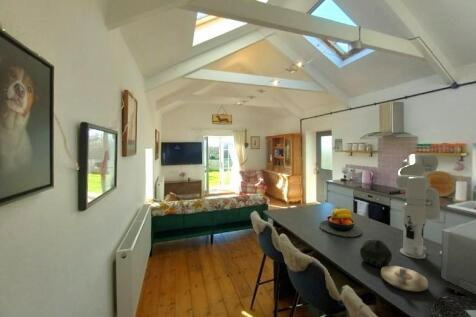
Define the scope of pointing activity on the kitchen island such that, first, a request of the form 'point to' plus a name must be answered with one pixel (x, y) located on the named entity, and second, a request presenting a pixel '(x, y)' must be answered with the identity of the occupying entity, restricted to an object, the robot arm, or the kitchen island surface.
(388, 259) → the squash
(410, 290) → the turntable base
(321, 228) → the kitchen island surface
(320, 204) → the kitchen island surface
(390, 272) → the turntable
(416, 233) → the skincare box
